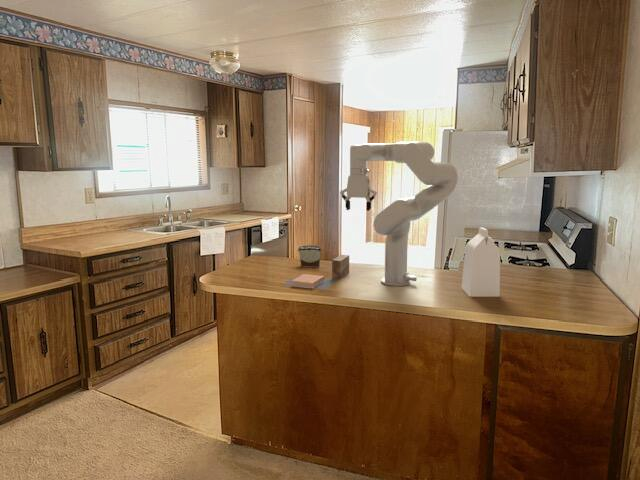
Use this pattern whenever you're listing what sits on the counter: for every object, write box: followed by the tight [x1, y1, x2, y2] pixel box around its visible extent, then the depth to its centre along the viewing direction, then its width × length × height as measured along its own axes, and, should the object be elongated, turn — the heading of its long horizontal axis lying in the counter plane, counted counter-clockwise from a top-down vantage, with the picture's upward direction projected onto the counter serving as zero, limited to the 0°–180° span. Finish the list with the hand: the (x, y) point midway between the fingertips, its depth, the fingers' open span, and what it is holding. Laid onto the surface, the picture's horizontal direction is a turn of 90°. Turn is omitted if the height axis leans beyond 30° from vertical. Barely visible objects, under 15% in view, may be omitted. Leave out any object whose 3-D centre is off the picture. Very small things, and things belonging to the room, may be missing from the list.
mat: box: [282, 274, 340, 291], centre depth 198 cm, size 20×17×1 cm
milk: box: [461, 227, 501, 298], centre depth 180 cm, size 12×12×26 cm
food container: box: [297, 244, 323, 268], centre depth 230 cm, size 12×6×10 cm, turn 84°
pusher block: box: [331, 254, 350, 280], centre depth 208 cm, size 4×12×9 cm, turn 157°
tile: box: [291, 273, 325, 289], centre depth 195 cm, size 10×2×12 cm
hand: (358, 210), depth 207 cm, fingers open, 9 cm apart
